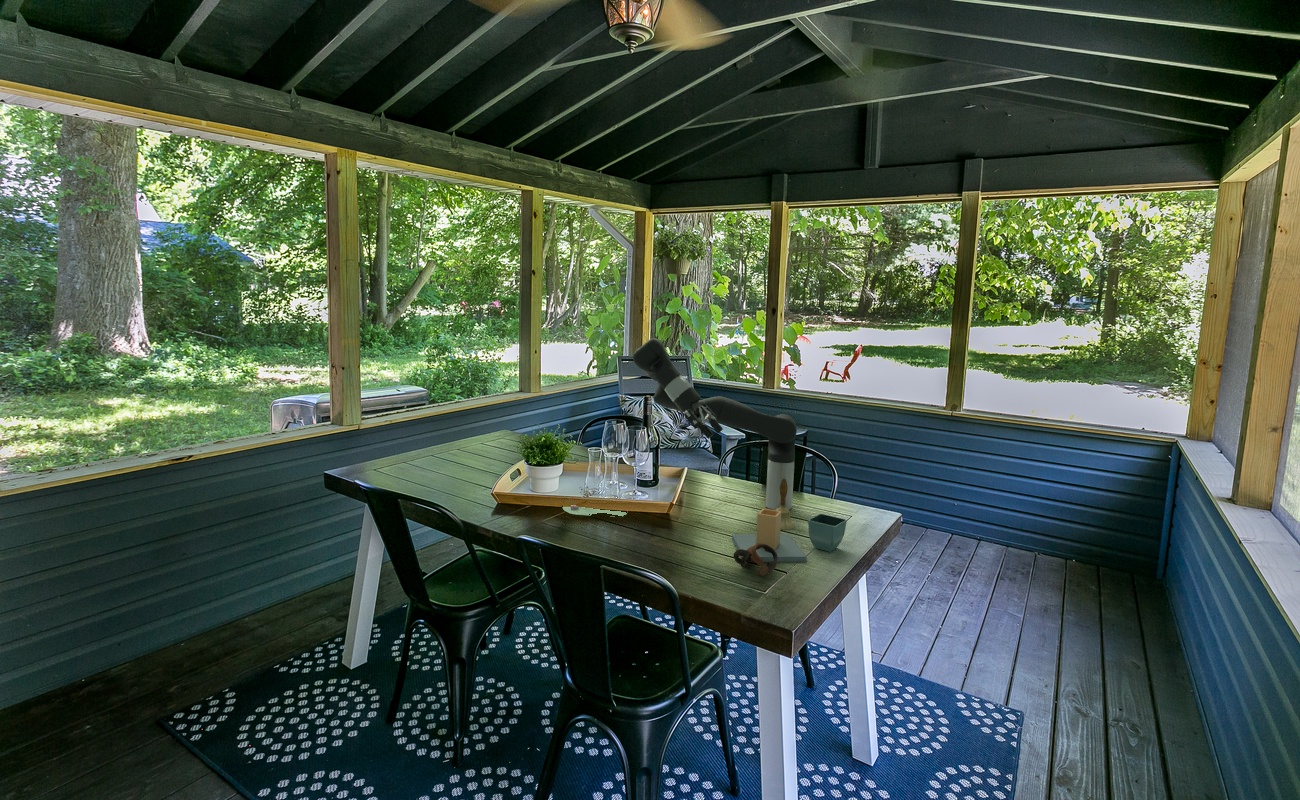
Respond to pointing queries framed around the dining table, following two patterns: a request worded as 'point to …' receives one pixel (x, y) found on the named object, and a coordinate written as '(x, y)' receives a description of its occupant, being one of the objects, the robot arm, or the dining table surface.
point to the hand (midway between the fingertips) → (715, 434)
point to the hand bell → (784, 507)
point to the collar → (768, 527)
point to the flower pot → (826, 531)
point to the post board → (784, 550)
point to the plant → (589, 509)
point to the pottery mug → (756, 558)
